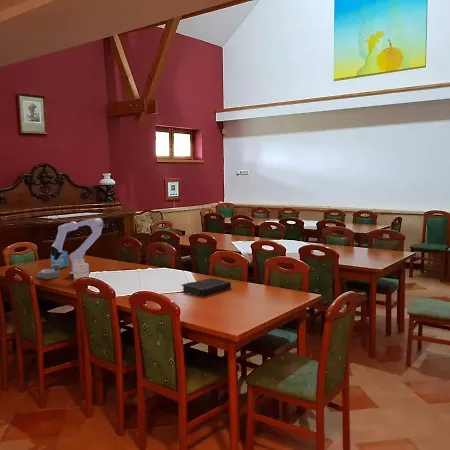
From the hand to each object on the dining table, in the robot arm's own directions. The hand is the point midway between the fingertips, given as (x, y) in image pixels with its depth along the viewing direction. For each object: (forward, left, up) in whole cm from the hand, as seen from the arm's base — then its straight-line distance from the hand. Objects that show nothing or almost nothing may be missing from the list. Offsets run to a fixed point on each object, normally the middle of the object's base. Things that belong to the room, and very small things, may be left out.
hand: (54, 257), depth 338 cm
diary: (-125, -13, -12) cm, 126 cm away
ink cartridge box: (-40, +9, -11) cm, 42 cm away
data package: (+14, -15, -11) cm, 23 cm away
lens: (-3, +1, -11) cm, 11 cm away
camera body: (-9, +12, -11) cm, 18 cm away
